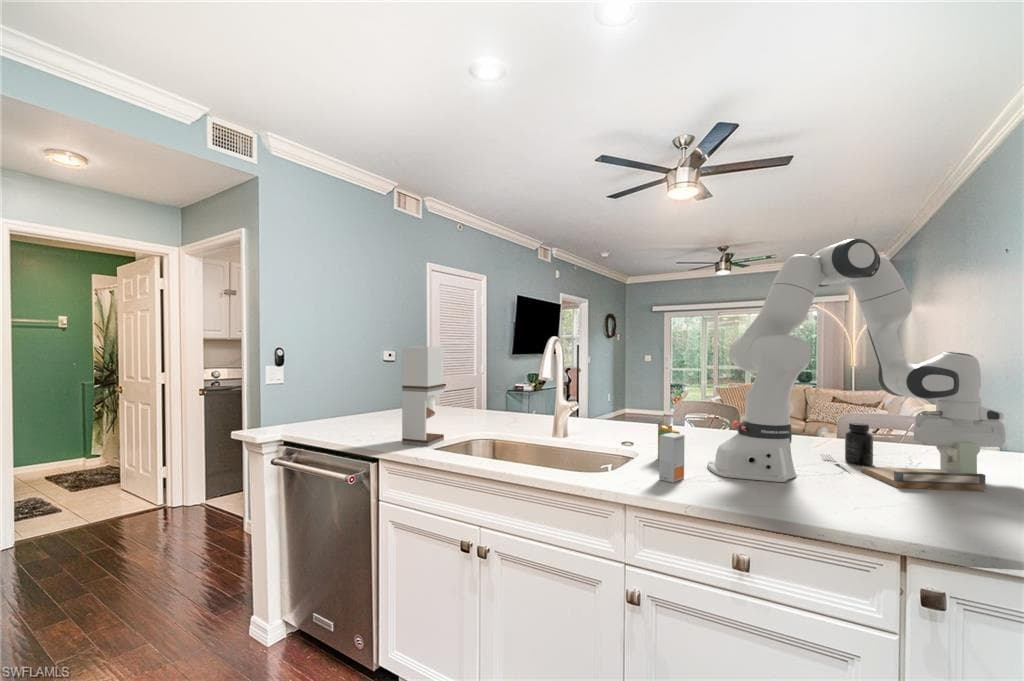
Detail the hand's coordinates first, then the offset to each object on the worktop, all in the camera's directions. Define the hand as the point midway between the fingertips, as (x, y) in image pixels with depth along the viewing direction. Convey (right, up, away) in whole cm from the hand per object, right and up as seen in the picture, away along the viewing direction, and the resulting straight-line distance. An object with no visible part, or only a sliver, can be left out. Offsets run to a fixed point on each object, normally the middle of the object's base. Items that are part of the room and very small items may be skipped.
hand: (958, 462), depth 124 cm
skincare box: (-79, -4, -2) cm, 79 cm away
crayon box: (-73, -4, +17) cm, 75 cm away
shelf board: (-13, -4, -3) cm, 15 cm away
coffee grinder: (-155, -4, +43) cm, 161 cm away
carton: (0, -4, 0) cm, 4 cm away
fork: (-25, -5, +8) cm, 27 cm away
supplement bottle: (-16, -4, +14) cm, 22 cm away
